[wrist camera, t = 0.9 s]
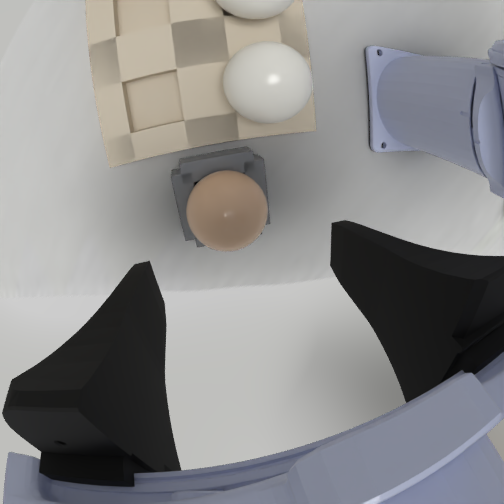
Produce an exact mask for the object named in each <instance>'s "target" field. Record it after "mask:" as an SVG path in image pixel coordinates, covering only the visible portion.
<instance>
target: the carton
mask: <svg viewBox="0 0 504 504" xmlns="http://www.w3.org/2000/svg"><path fill="white" fill-rule="evenodd" d="M85 1H86V23H87V36H88V47H89V57H90V65H91V73H92V80H93V87H94V93H95V99H96V105H97V111H98V116H99V121H100V126H101V131H102V136H103V141H104V145H105V149H106V154H107V158H108V162H109V166H110V168H112V167H116V166H119V165H123V164H127V163H130V162H134V161H138V160H142V159H146V158H150V157H154V156H158V155H163V154H167V153H171V152H176V151H181V150H186V149H190V148H196V147H201V146H206V145H211V144H217V143H223V142H229V141H235V140H242V139H249V138H256V137H263V136H272V135H280V134H289V133H300V132H311V131H316V121H315V107H314V94H313V89H312V93H311V96H310V99H309V101H308V103H307V104H306V105H305V107H304V108H303V109H302V110H301V111H300V112H299V113H298V114H297V115H295V116H294V117H292V118H290V119H288V120H286V121H283V122H279V123H271V124H267V123H258V122H254V121H251V120H249V119H247V118H245V117H243V116H242V115H240V114H239V113H238V112H237V111H235V109H234V108H233V107H232V106H231V105H230V103H229V102H228V100H227V98H226V96H225V93H224V88H223V75H224V71H225V68H226V66H227V64H228V62H229V60H230V59H231V58H232V56H233V55H234V54H235V53H236V52H237V51H239V50H240V49H241V48H243V47H245V46H247V45H249V44H252V43H256V42H261V41H274V42H279V43H282V44H285V45H287V46H289V47H291V48H293V49H295V50H296V51H297V52H299V53H300V54H301V55H302V56H303V58H304V59H305V60H306V62H307V63H308V65H309V67H310V70H311V63H310V54H309V46H308V38H307V30H306V23H305V16H304V9H303V3H302V0H294V2H293V3H292V4H291V5H290V6H289V7H288V8H287V9H286V10H285V11H283V12H281V13H280V14H278V15H275V16H272V17H269V18H264V19H246V18H241V17H238V16H235V15H233V14H231V13H229V12H227V11H226V10H224V9H223V8H222V7H221V6H220V5H219V4H218V3H217V2H216V1H215V0H85Z"/></svg>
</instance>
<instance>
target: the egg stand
mask: <svg viewBox="0 0 504 504" xmlns="http://www.w3.org/2000/svg"><path fill="white" fill-rule="evenodd" d="M179 165H180V169H175V170H172V173H171V179H172V184H173V189H174V193H175V198H176V202H177V207H178V211H179V215H180V219H181V224H182V228H183V232H184V236H185V240H186V241H189V240H194V239H195V241H196V245H197V247H202V246H205V245H204V244H203V243H201V242H200V241H199V240H198V239H197V238H196V237H195V236H194V234H193V233H192V231H191V229H190V227H189V224H188V221H187V215H186V208H187V201H188V198H189V195H190V193H191V191H192V190H193V188H194V187H195V185H194V182H196V181H200V180H201V179H203V178H204V177H205V176H207V175H209V174H211V173H214V172H217V171H223V170H231V171H237V172H240V173H243V174H245V175H247V176H249V177H250V178H252V179H253V180H254V181H255V182H256V183H257V184H258V185H259V186H260V188H261V189H262V191H263V193H264V195H265V197H266V200H267V206H268V195H267V185H266V175H265V165H264V159H263V158H261V157H260V156H259V155H258V154H257V155H253V151H252V150H251V149H249V148H248V147H242V148H235V149H229V150H223V151H218V152H212V153H207V154H201V155H196V156H191V157H186V158H182V159H180V162H179ZM267 224H270V217H269V206H268V215H267V221H266V224H265V225H267ZM261 234H262V232H261Z"/></svg>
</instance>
